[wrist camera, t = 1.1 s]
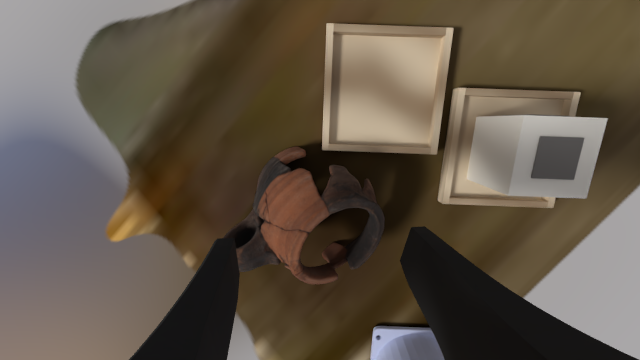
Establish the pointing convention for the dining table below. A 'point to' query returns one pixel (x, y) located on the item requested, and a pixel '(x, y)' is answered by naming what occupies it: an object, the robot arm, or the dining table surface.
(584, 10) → the dining table surface
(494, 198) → the tray far
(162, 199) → the dining table surface
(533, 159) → the white marked cube
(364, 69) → the tray near
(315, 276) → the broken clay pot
